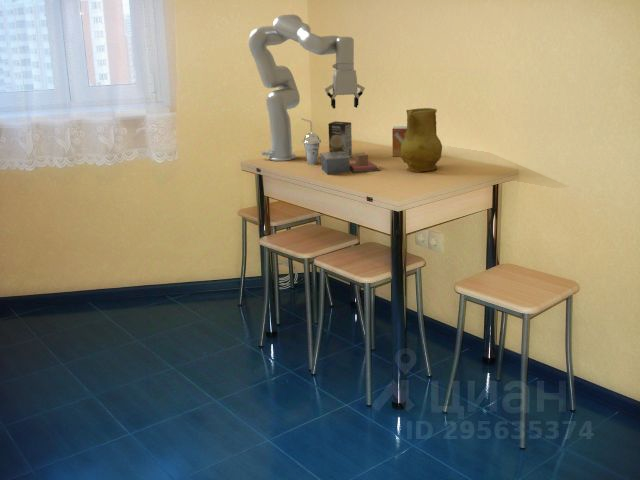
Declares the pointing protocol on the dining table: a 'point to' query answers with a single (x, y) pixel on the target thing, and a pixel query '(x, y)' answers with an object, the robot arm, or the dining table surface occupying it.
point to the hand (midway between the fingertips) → (344, 107)
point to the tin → (335, 162)
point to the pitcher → (421, 140)
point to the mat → (365, 170)
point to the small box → (398, 139)
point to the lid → (362, 163)
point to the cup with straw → (311, 146)
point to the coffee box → (340, 137)
